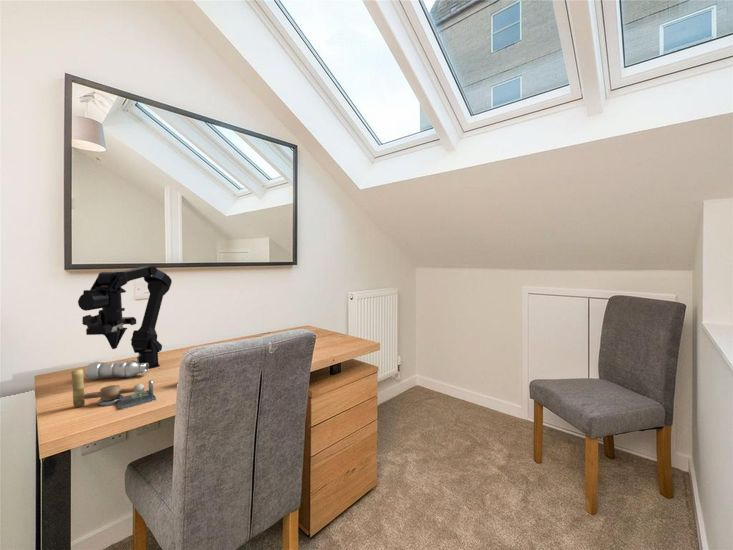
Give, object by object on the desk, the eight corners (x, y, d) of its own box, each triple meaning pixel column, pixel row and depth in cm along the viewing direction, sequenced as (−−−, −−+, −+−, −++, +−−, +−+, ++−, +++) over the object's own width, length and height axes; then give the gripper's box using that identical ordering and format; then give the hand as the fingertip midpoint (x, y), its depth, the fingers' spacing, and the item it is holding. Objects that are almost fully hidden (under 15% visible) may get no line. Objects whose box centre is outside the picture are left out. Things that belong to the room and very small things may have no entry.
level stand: (146, 389, 116) (146, 375, 116) (157, 399, 108) (157, 384, 108) (96, 402, 106) (95, 386, 106) (103, 414, 98) (103, 397, 98)
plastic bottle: (94, 373, 130) (151, 369, 134) (84, 384, 124) (144, 380, 128) (90, 358, 128) (149, 355, 132) (80, 369, 122) (141, 365, 126)
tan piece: (146, 392, 112) (144, 361, 112) (142, 398, 108) (141, 365, 107) (77, 402, 105) (75, 368, 105) (70, 409, 101) (68, 374, 100)
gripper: (106, 303, 132) (108, 343, 133) (67, 310, 113) (70, 357, 114) (136, 302, 133) (138, 342, 133) (103, 310, 114) (105, 355, 115)
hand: (114, 348), depth 124 cm, fingers closed
